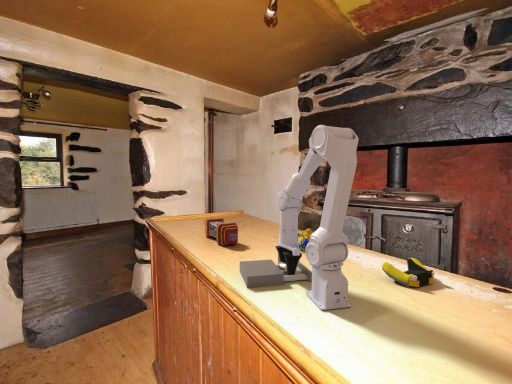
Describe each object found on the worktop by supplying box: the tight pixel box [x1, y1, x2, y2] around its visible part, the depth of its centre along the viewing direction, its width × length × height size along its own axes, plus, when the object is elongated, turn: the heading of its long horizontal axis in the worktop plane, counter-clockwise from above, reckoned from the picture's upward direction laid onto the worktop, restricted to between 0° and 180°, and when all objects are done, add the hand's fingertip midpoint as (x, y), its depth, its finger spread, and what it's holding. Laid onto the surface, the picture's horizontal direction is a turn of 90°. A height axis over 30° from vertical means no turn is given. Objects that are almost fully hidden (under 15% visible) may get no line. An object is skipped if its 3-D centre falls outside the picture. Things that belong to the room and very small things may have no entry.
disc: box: [278, 261, 297, 271], centre depth 83 cm, size 6×6×1 cm
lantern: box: [204, 217, 239, 247], centre depth 125 cm, size 10×9×30 cm
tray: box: [276, 260, 312, 283], centre depth 83 cm, size 13×11×2 cm
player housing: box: [239, 259, 285, 289], centre depth 81 cm, size 13×11×3 cm
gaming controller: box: [381, 257, 436, 288], centre depth 80 cm, size 15×6×10 cm
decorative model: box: [298, 228, 314, 250], centre depth 114 cm, size 13×9×15 cm
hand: (287, 270), depth 83 cm, fingers closed on disc, 5 cm apart
